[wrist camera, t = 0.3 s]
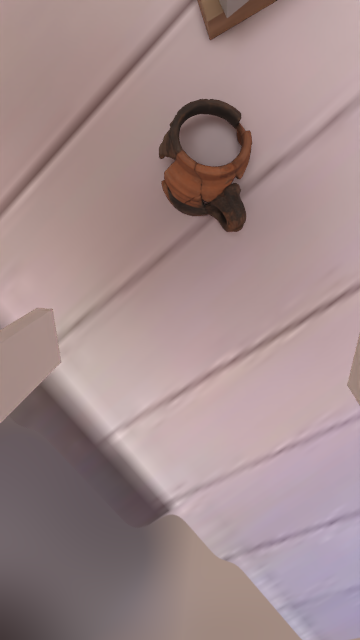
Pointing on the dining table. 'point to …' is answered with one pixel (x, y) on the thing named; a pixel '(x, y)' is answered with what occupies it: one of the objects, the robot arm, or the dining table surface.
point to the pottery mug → (206, 170)
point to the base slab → (217, 18)
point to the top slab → (231, 6)
